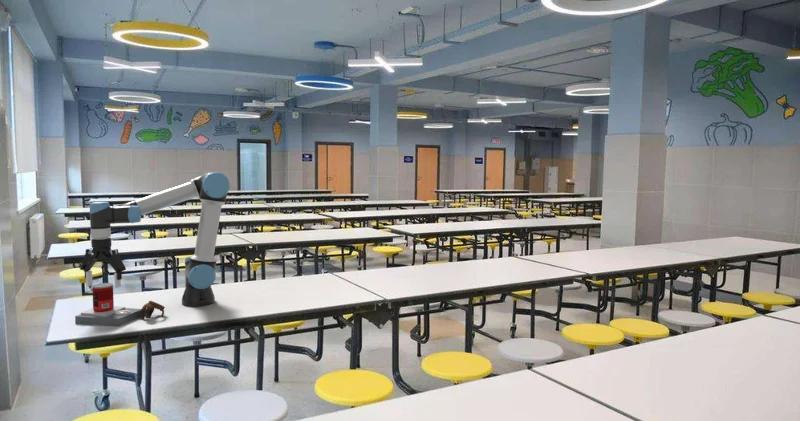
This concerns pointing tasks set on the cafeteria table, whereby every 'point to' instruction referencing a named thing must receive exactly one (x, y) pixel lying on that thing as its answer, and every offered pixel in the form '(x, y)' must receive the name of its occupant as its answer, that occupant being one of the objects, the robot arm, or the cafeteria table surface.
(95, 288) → the canned food
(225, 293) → the cafeteria table surface
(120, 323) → the dial scale
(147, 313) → the brown arched piece
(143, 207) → the robot arm
